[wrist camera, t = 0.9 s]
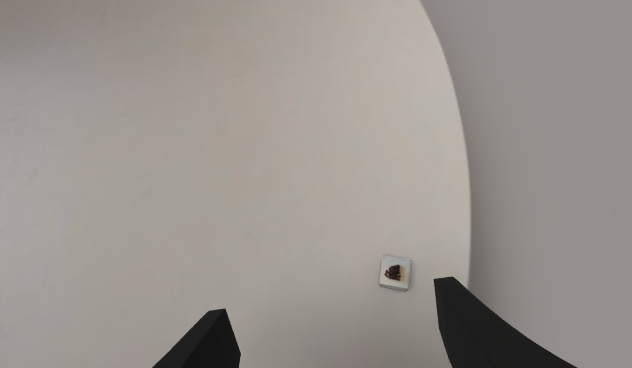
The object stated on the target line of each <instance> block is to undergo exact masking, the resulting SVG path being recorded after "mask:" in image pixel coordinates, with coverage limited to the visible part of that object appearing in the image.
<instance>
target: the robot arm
mask: <svg viewBox="0 0 632 368" xmlns="http://www.w3.org/2000/svg"><path fill="white" fill-rule="evenodd" d="M434 287H435V296H436V305H437V314H438V323H439V330H440V333H441V336H442V340H443V343H444V346H445V349H446V352H447V355H448V358H449V361H450V363H451V365H452V368H577V367H575V366H573V365H571V364H570V363H568V362H566V361H564V360H562V359H561V358H559V357H557V356H556V355H554V354H552V353H551V352H549V351H547V350H546V349H544V348H543V347H541V346H539V345H538V344H536V343H535V342H533V341H532V340H530V339H529V338H527V337H526V336H524V335H523V334H522V333H520V332H519V331H518V330H516V329H515V328H513V327H512V326H511V325H509V324H508V323H507V322H505V321H504V320H503V319H501V318H500V317H499V316H498V315H497V314H495V313H494V312H493V311H492V310H490V309H489V308H488V307H487V306H485V305H484V304H483V303H482V302H481V301H480V300H479V299H477V298H476V297H475V296H474V295H473V294H472V293H470V291H468V290H467V289H466V288H465V287H464V286H463V285H462V284H461V283H460V282H459V281H458V280H457V279H455V278H454V277H446V278H439V279H434ZM240 356H241V353H240V350H239V347H238V344H237V341H236V338H235V335H234V332H233V330H232V327H231V324H230V321H229V318H228V315H227V312H226V309H219V310H212V311H208V312H207V313H206V314H205V315H204V316H203V317H202V318H201V319H200V320H199V321H198V322H197V323H196V324H195V325H194V326H193V327H192V328H191V329H190V330H189V331H188V332H187V333H186V334H185V335H184V336H183V337H182V338H181V339H180V341H179V342H178V343H177V344H176V345H175V346H174V347H173V348H172V349H171V350H170V351H169V352H168V353H167V354H166V355H165V356H164V357H163V358H162V359H161V360H160V361H158V362H157V363H156V364H155V365H154V366H153V367H152V368H239V363H240Z"/></svg>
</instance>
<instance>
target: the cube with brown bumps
mask: <svg viewBox="0 0 632 368" xmlns="http://www.w3.org/2000/svg"><path fill="white" fill-rule="evenodd" d="M410 266H411V260H409V259H403V258H396V257H390V256H385V255H383V259H382V267H381V274H380V281H379V286H380V287H386V288H391V289H396V290H402V291H407V289H408V284H409V275H410Z"/></svg>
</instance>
